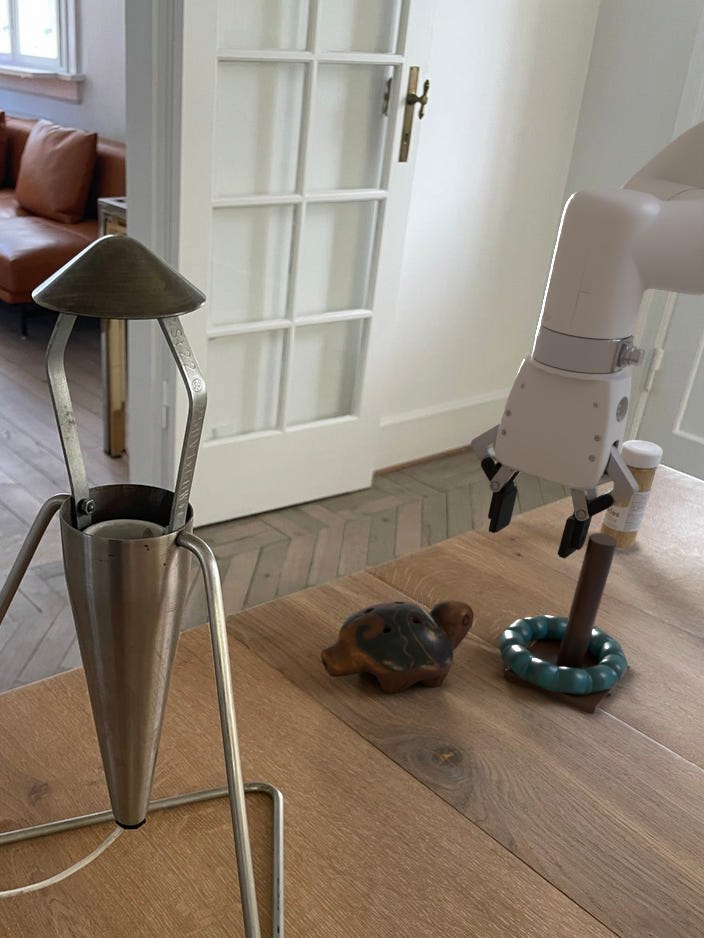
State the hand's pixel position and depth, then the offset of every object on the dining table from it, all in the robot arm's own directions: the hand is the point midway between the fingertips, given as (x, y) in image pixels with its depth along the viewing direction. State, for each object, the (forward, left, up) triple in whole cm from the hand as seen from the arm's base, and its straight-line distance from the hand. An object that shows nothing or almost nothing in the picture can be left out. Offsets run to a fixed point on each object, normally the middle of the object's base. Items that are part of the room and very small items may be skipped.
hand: (532, 539), depth 91 cm
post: (-6, 0, -13) cm, 15 cm away
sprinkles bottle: (+1, -32, -13) cm, 35 cm away
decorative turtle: (+7, +11, -13) cm, 19 cm away
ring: (-5, 0, -11) cm, 12 cm away
